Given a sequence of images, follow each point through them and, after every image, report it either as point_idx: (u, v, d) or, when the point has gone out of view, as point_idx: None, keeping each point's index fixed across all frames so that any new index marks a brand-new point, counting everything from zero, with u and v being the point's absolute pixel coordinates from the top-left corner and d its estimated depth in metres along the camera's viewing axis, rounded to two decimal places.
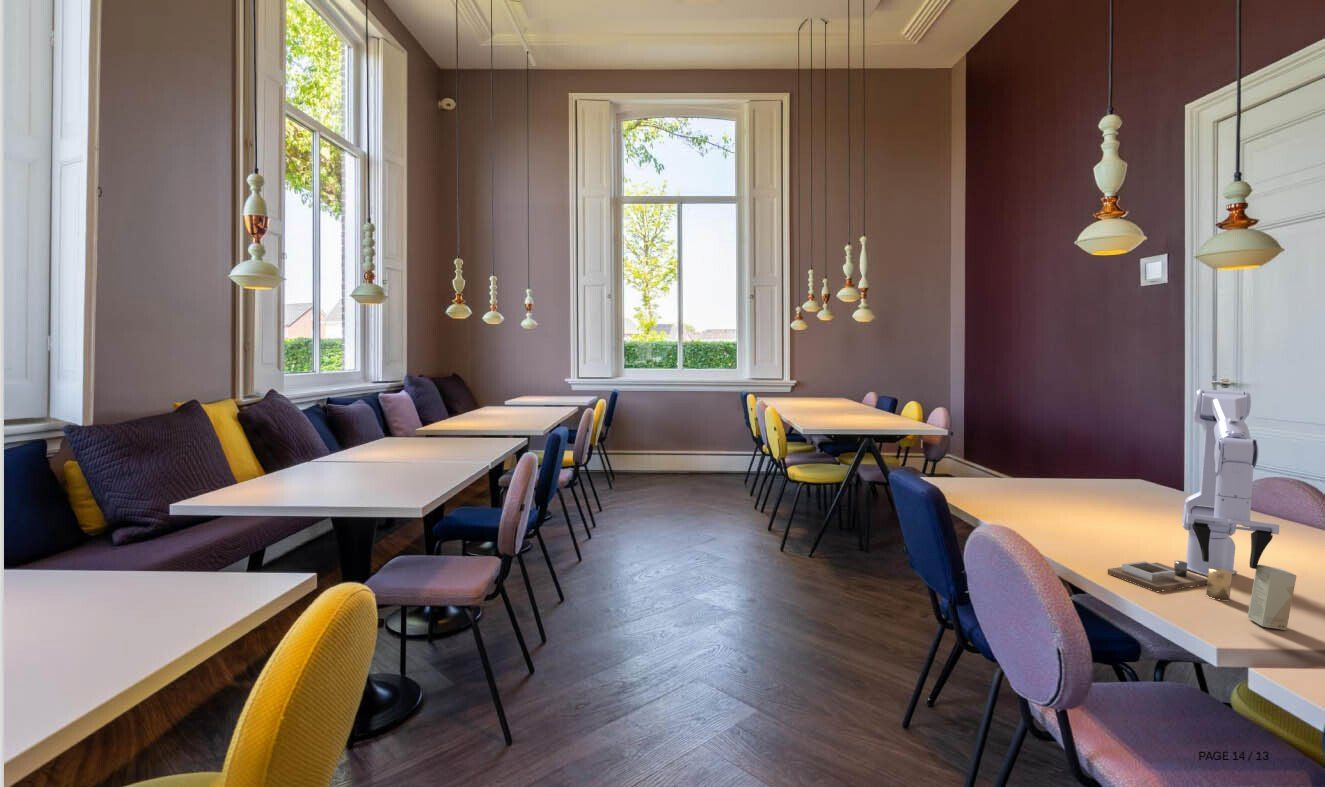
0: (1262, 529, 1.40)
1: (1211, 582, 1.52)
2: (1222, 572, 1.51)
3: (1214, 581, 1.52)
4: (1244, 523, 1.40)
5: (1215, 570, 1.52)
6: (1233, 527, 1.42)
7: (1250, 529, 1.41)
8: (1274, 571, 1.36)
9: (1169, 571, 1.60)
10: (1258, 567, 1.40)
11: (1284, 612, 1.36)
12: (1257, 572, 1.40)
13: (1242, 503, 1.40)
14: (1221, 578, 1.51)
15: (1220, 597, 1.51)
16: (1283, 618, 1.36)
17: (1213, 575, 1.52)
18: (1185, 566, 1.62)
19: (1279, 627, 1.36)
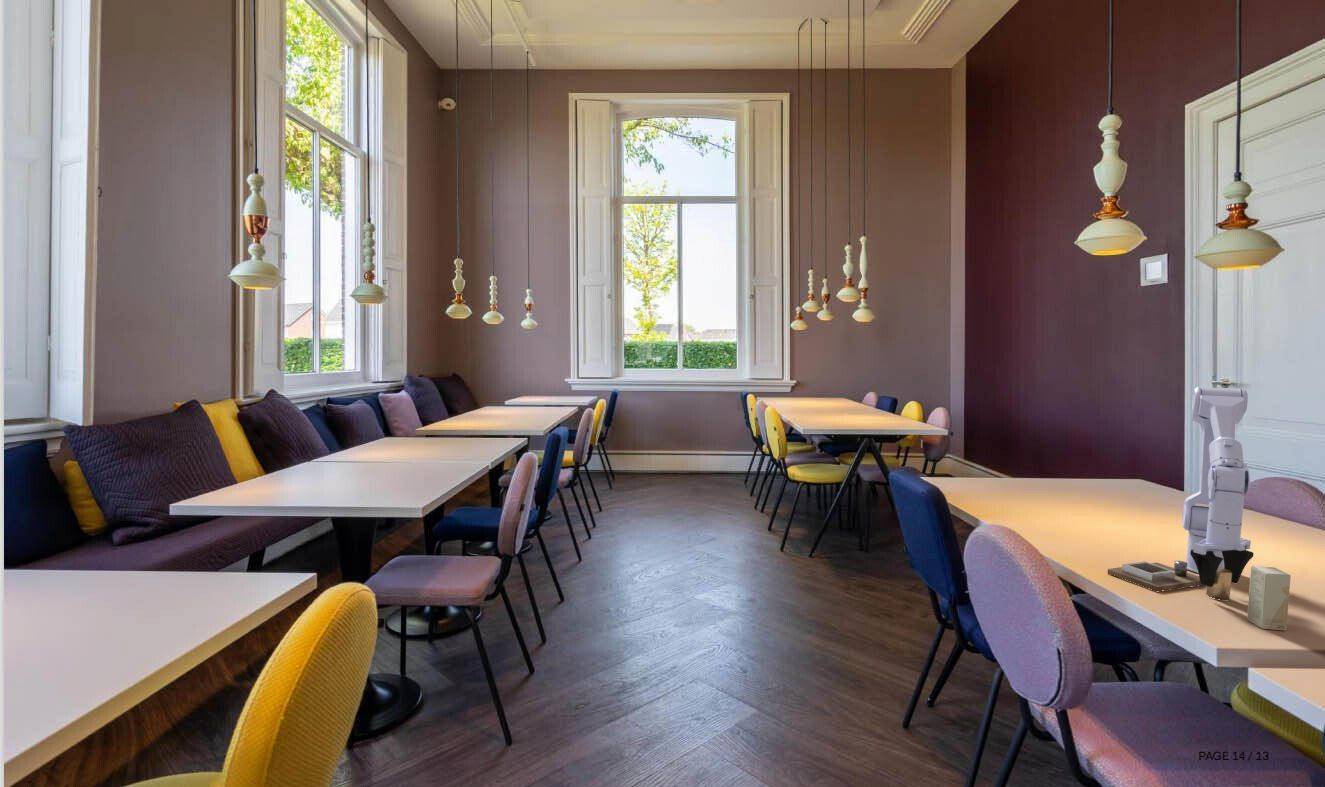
0: None
1: None
2: (1222, 572, 1.51)
3: None
4: None
5: None
6: (1224, 549, 1.52)
7: None
8: (1268, 572, 1.37)
9: (1169, 571, 1.60)
10: (1252, 569, 1.40)
11: (1282, 612, 1.36)
12: (1252, 573, 1.40)
13: None
14: (1221, 578, 1.51)
15: (1220, 597, 1.51)
16: (1282, 619, 1.36)
17: None
18: (1185, 566, 1.62)
19: (1279, 628, 1.36)
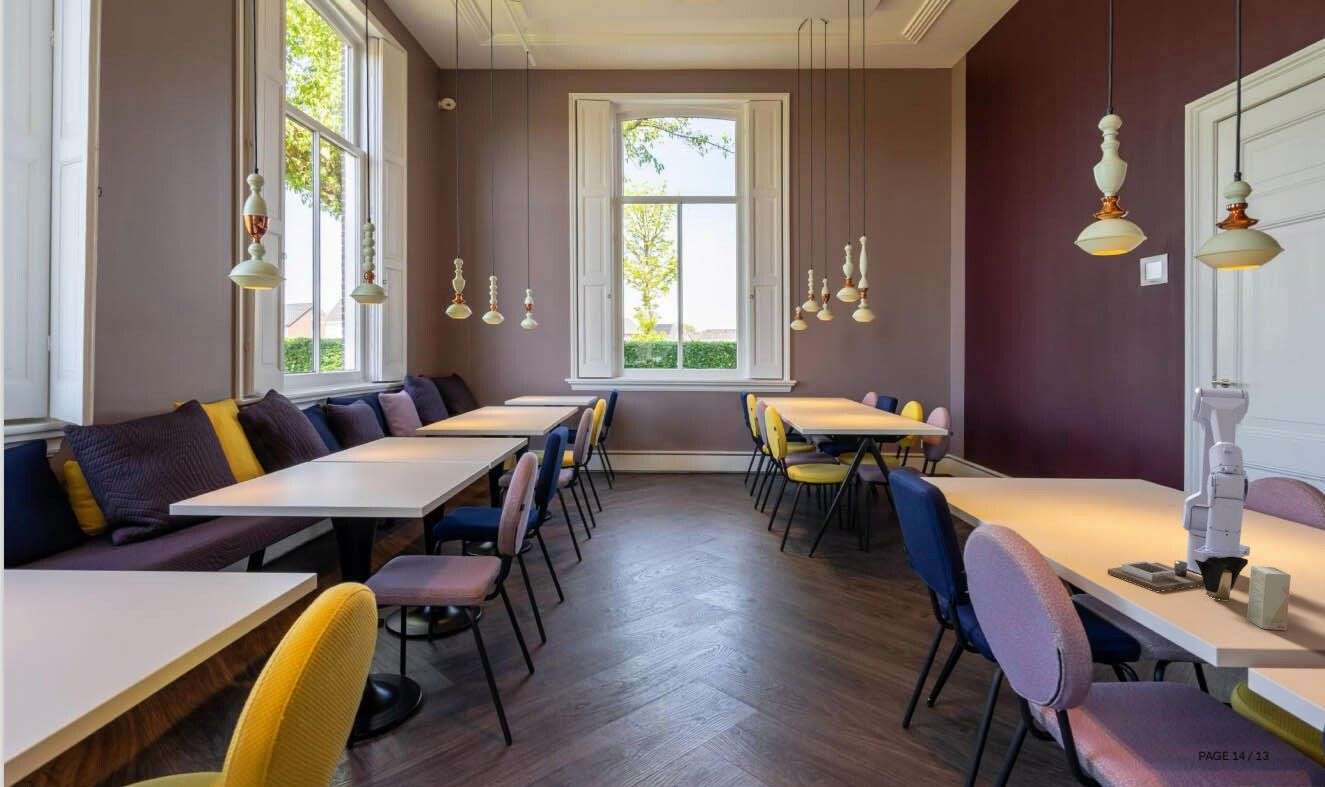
0: None
1: None
2: None
3: None
4: None
5: None
6: (1223, 556, 1.52)
7: None
8: (1268, 572, 1.37)
9: (1169, 571, 1.60)
10: (1252, 569, 1.40)
11: (1282, 612, 1.36)
12: (1252, 574, 1.40)
13: (1240, 536, 1.50)
14: (1221, 578, 1.51)
15: (1220, 597, 1.51)
16: (1282, 619, 1.36)
17: None
18: (1185, 566, 1.62)
19: (1279, 628, 1.36)
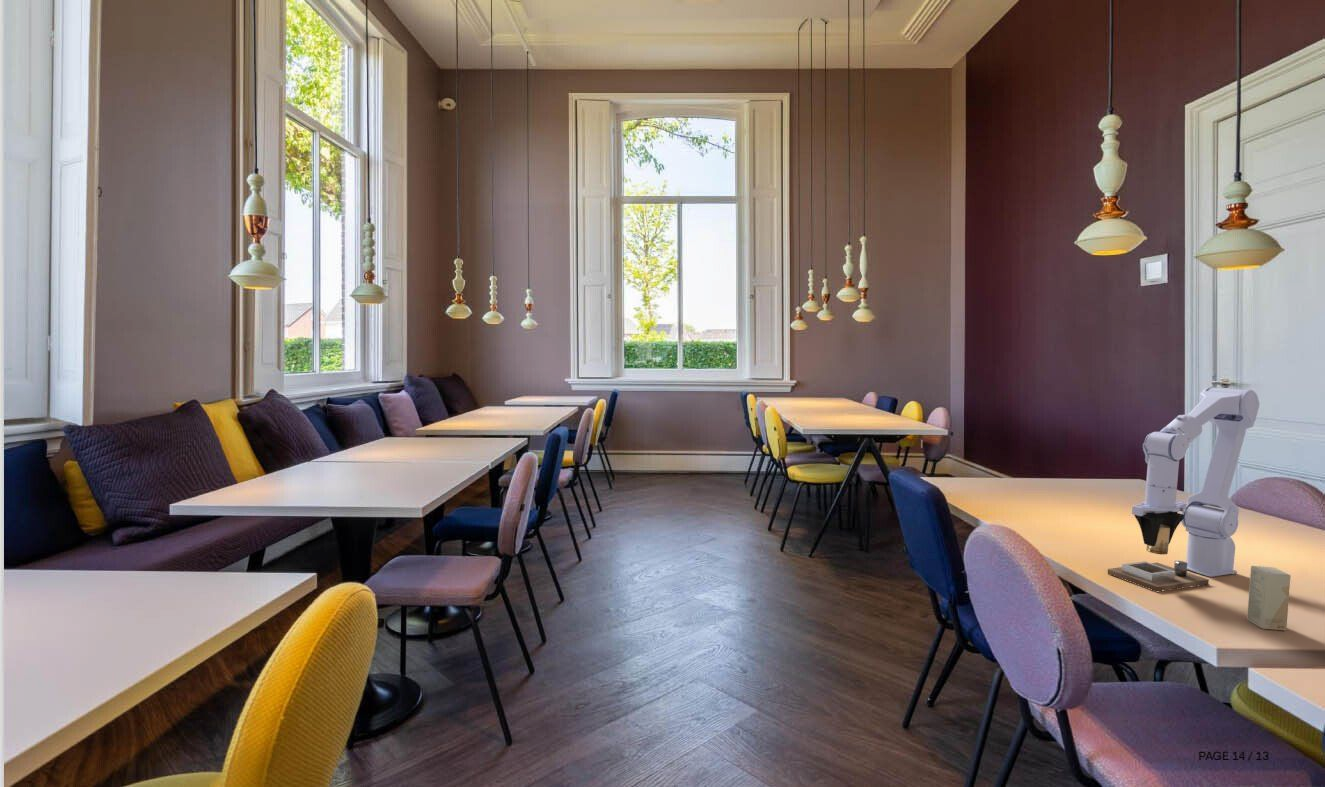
0: None
1: None
2: (1161, 527, 1.59)
3: None
4: None
5: None
6: (1161, 511, 1.60)
7: (1170, 510, 1.61)
8: (1268, 572, 1.37)
9: (1169, 571, 1.60)
10: (1252, 569, 1.40)
11: (1282, 612, 1.36)
12: (1252, 574, 1.40)
13: (1176, 491, 1.58)
14: (1160, 532, 1.59)
15: (1159, 551, 1.59)
16: (1282, 619, 1.36)
17: None
18: (1185, 566, 1.62)
19: (1279, 628, 1.36)
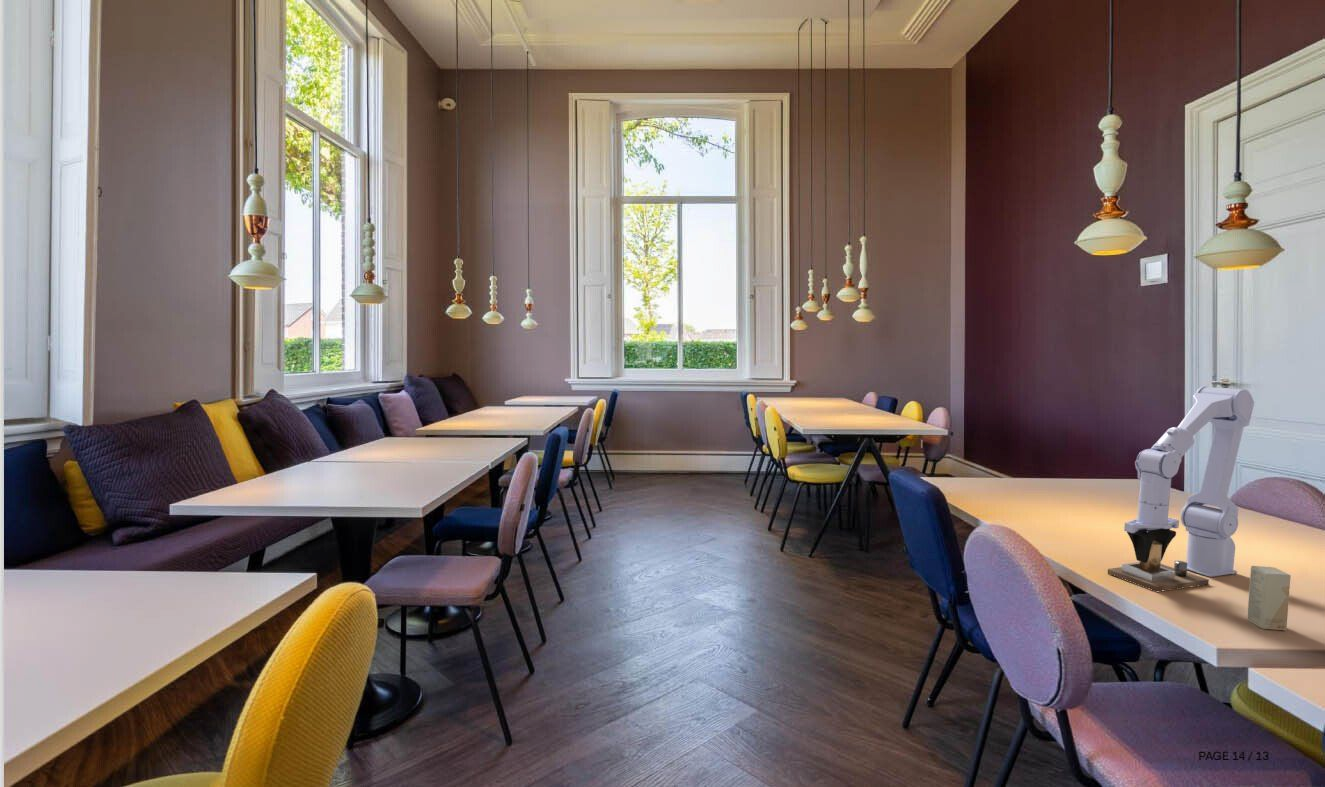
0: None
1: None
2: (1153, 544, 1.60)
3: None
4: None
5: None
6: (1153, 528, 1.61)
7: (1162, 527, 1.62)
8: (1268, 572, 1.37)
9: (1169, 571, 1.60)
10: (1252, 569, 1.40)
11: (1282, 612, 1.36)
12: (1252, 573, 1.40)
13: (1168, 509, 1.59)
14: (1152, 549, 1.60)
15: (1151, 567, 1.60)
16: (1282, 619, 1.36)
17: None
18: (1185, 566, 1.62)
19: (1279, 628, 1.36)
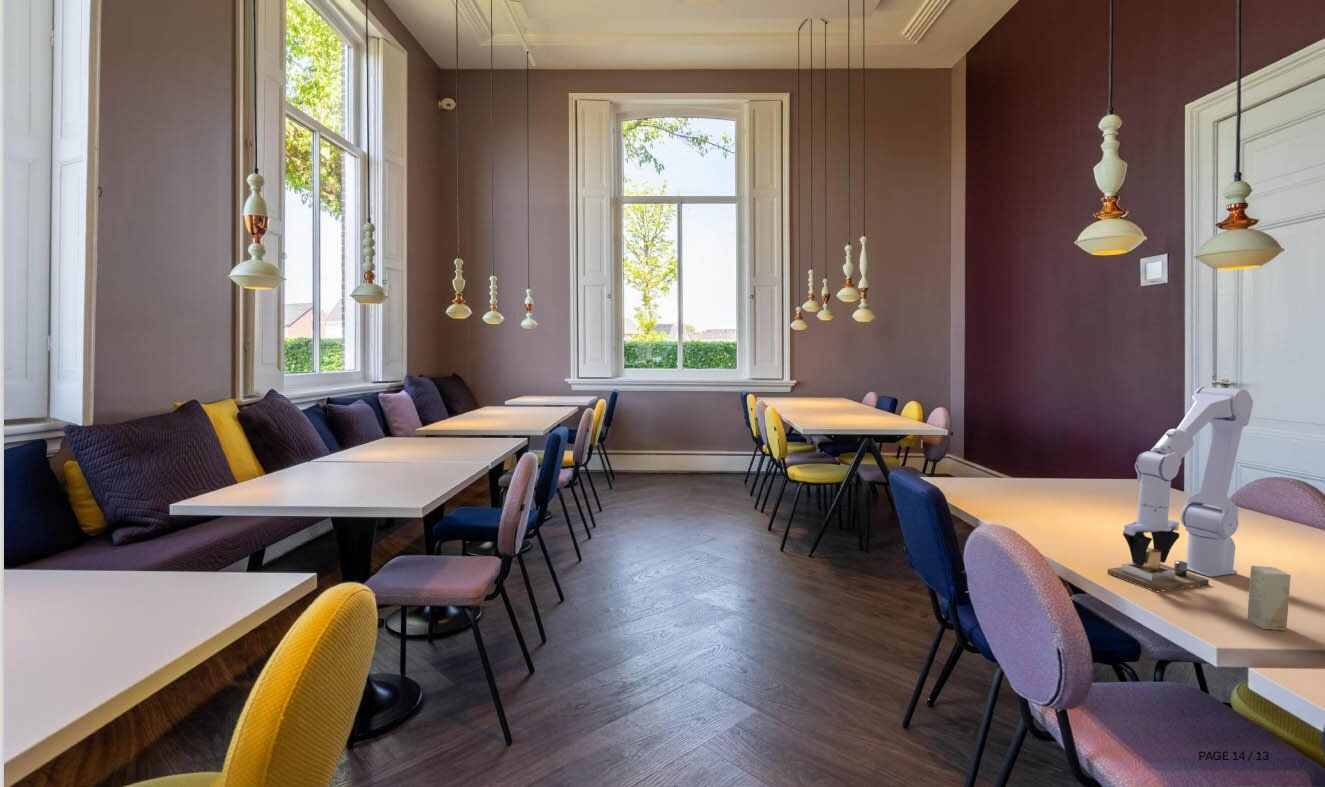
0: None
1: None
2: (1152, 552, 1.61)
3: (1145, 560, 1.61)
4: None
5: None
6: (1153, 530, 1.61)
7: None
8: (1268, 572, 1.37)
9: (1169, 571, 1.60)
10: (1252, 569, 1.40)
11: (1282, 612, 1.36)
12: (1252, 573, 1.40)
13: None
14: (1151, 557, 1.60)
15: None
16: (1282, 619, 1.36)
17: None
18: (1185, 566, 1.62)
19: (1279, 628, 1.36)
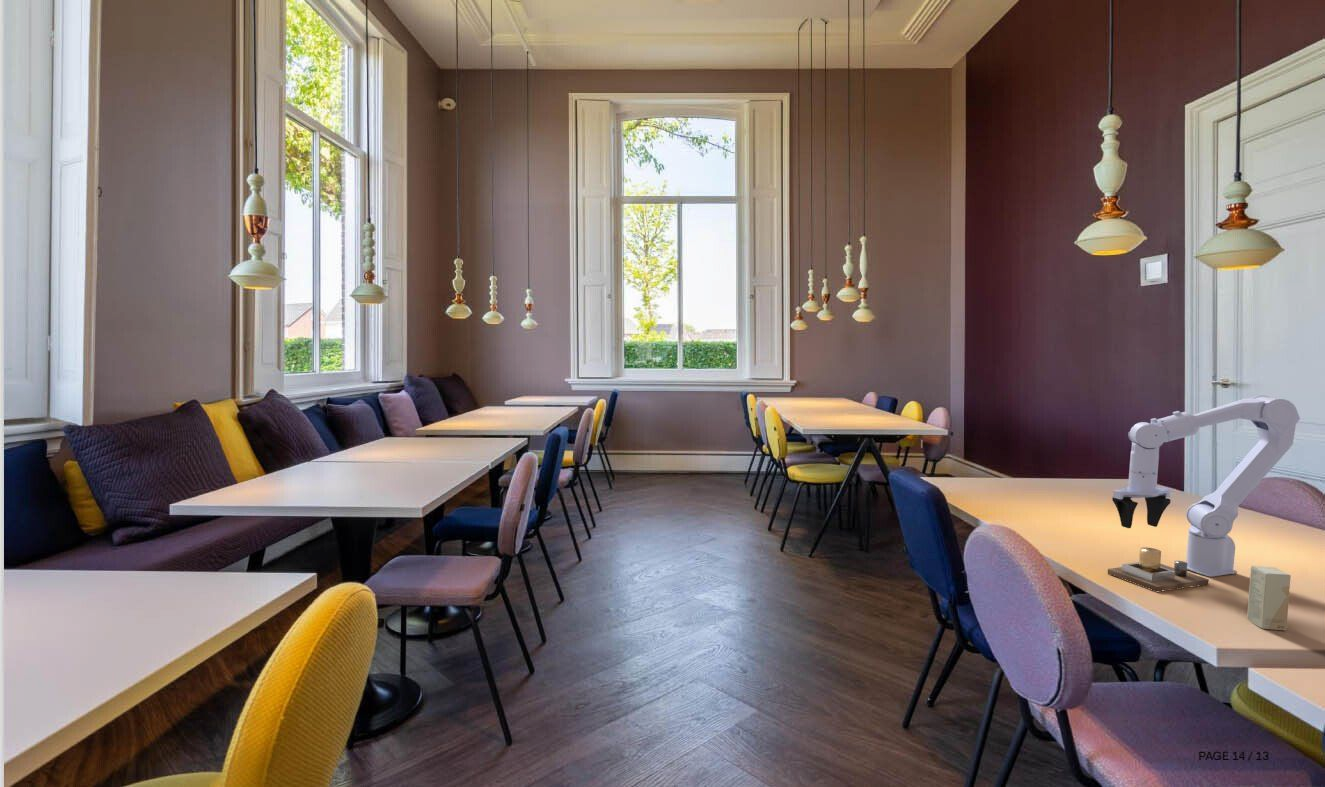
0: (1159, 494, 1.74)
1: (1142, 562, 1.62)
2: (1152, 552, 1.60)
3: (1145, 560, 1.61)
4: None
5: (1146, 550, 1.62)
6: (1143, 496, 1.73)
7: (1152, 496, 1.73)
8: (1268, 572, 1.37)
9: (1169, 571, 1.60)
10: (1252, 569, 1.40)
11: (1282, 612, 1.36)
12: (1252, 573, 1.40)
13: (1156, 478, 1.70)
14: (1151, 557, 1.60)
15: None
16: (1282, 619, 1.36)
17: (1144, 555, 1.61)
18: (1185, 566, 1.62)
19: (1279, 628, 1.36)
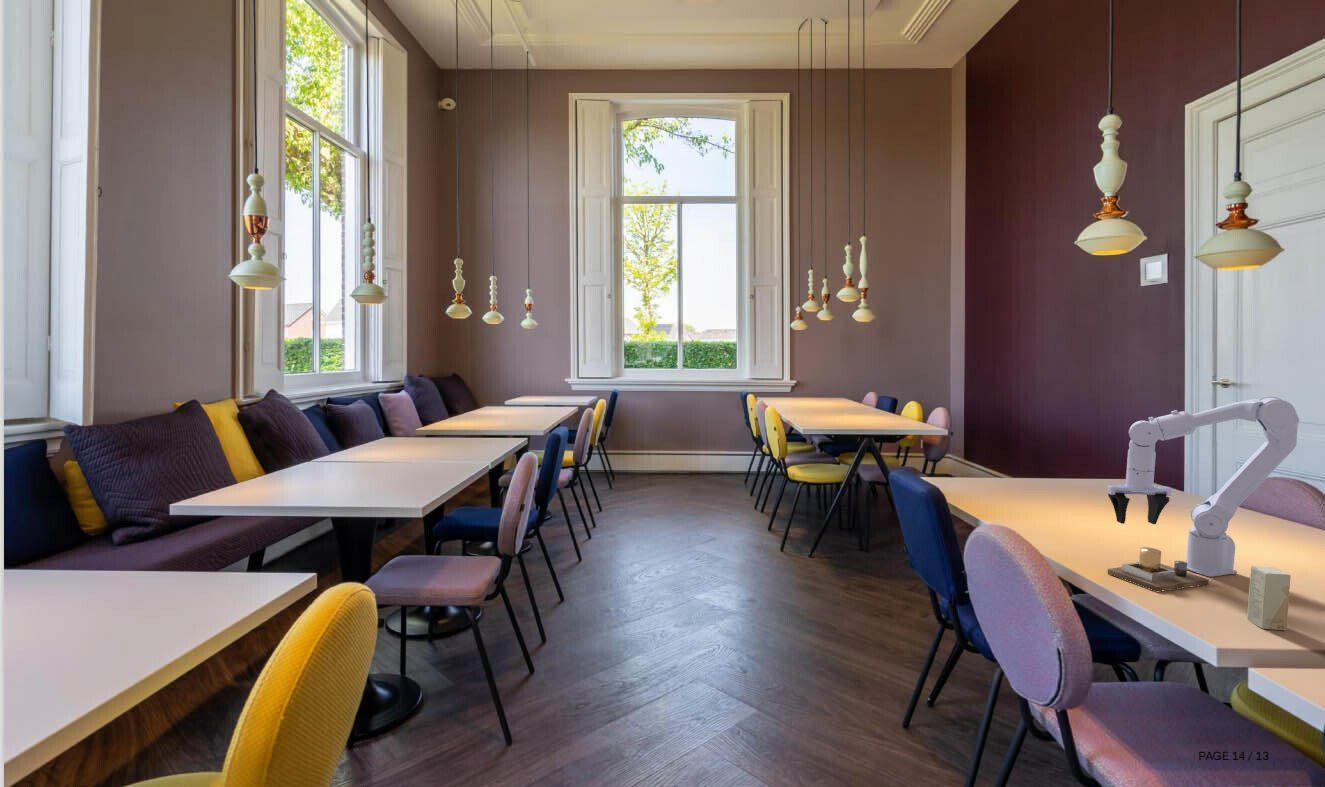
0: (1159, 492, 1.75)
1: (1142, 561, 1.62)
2: (1152, 551, 1.61)
3: (1145, 560, 1.61)
4: None
5: (1146, 549, 1.62)
6: (1140, 493, 1.76)
7: (1151, 493, 1.76)
8: (1268, 572, 1.37)
9: (1169, 571, 1.60)
10: (1252, 569, 1.40)
11: (1282, 612, 1.36)
12: (1252, 573, 1.40)
13: (1151, 475, 1.73)
14: (1151, 556, 1.60)
15: None
16: (1282, 619, 1.36)
17: (1144, 555, 1.61)
18: (1185, 566, 1.62)
19: (1279, 628, 1.36)
